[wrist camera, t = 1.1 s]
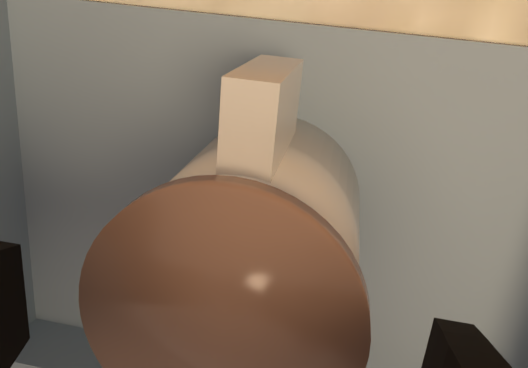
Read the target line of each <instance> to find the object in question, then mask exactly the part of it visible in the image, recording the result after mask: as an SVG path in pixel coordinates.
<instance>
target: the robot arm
mask: <svg viewBox="0 0 528 368" xmlns="http://www.w3.org/2000/svg"><path fill="white" fill-rule="evenodd" d="M29 339H30V333H29V323H28V313H27V303H26V293H25V283H24V273H23V263H22V253H21V244H16V243H10V242H4V241H0V368H11V366H12V365H13V363H14V362H15V360H16V359H17V357H18V356H19V354H20V353H21V351H22V350H23V348H24V347H25V345H26V344H27V342H28V341H29ZM421 368H512V367H511V366H510V364H509V363H508V362H507V361H506V360H505V359H504V358H503V356H502V355H501V354H500V353H499V352H498V351H497V349H496V348H495V347H494V346H493V345H492V344H491V343H490V341H489V340H488V339H487V338H486V337H485V336H484V335H483V334H482V333H481V331H480V330H479V329H478V328H477V327H476V326H475V325H474V324H468V323H463V322H457V321H451V320H446V319H440V318H434V320H433V324H432V328H431V332H430V336H429V339H428V343H427V347H426V351H425V355H424V359H423V363H422V367H421Z"/></svg>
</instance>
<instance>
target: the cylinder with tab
mask: <svg viewBox="0 0 528 368" xmlns="http://www.w3.org/2000/svg"><path fill="white" fill-rule="evenodd" d="M303 62H304V59H297V58H288V57H280V56H271V55H262V54H261V55H259V56H258V57H256V58H254V59H252V60H250V61H249V62H247V63H245V64H243V65H241V66H240V67H238V68H236V69H234V70H232V71H231V72H229V73H227V74H225V75H223V76H222V78H221V95H220V113H219V130H218V136H217V137H216V138H214V139H213V140H212V141H211V142H210V143H209V144H208V145H207V146H206V147H205V148H204V149H203V150H202V151H201V152H200V153H199V154H198V155H197V156H196V157H194V158H193V159H192V160H191V161H190V162H189V163H188V164H187V165H186V166H185V167H184V168H183V169H182V170H181V171H180V172H179V173H178V174H177V175H176V176H174V177H173V178H172V179H171V180H170V181H169V182H167V183H164V184H161V185H159V186H157V187H155V188H153V189H151V190H149V191H147V192H145V193H143V194H142V195H141V196H139V197H138V198H136V199H135V200H133V201H132V202H131V203H130V204H128V205H127V206H126V207H125V208H124V209H123V210H122V211H121V212H119V213H118V214H117V215H116V216H115V217H114V218H113V219H112V220H111V221H110V222H109V223H108V224H107V225H106V226H104V228H103V229H102V230H101V232H100V233H99V234H98V236H97V237H96V238H95V239H94V241H93V243H92V245H91V247H90V249H89V251H88V252H87V254H86V257H85V260H84V263H83V266H82V269H81V275H80V281H79V309H80V317H81V321H82V324H83V328H84V332H85V335H86V337H87V339H88V342H89V344H90V347H91V349H92V351H93V353H94V354H95V356H96V358H97V360H98V362H99V363H100V365H101V366H102V367H103V368H366V365H367V362H368V359H369V353H370V344H371V321H370V300H369V295H368V290H367V285H366V282H365V279H364V276H363V274H362V271H361V268H360V266H359V228H360V194H359V185H358V179H357V176H356V173H355V170H354V167H353V165H352V163H351V161H350V159H349V158H348V156H347V155H346V153H345V152H344V150H343V149H342V148H341V147H340V145H339V144H338V143H337V142H336V141H335V140H334V139H333V138H332V137H330V136H329V135H328V134H327V133H326V132H324V131H323V130H321V129H320V128H318V127H317V126H315V125H313V124H310V123H308V122H306V121H304V120H301V119H298V118H297V113H298V105H299V96H300V88H301V79H302V70H303Z"/></svg>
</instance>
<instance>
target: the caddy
mask: <svg viewBox="0 0 528 368" xmlns="http://www.w3.org/2000/svg"><path fill="white" fill-rule="evenodd" d="M261 54H262V55H271V56H280V57H288V58H297V59H304V62H303V70H302V79H301V88H300V96H299V105H298V113H297V118H298V119H301V120H304V121H306V122H308V123H310V124H313V125H315V126H317V127H318V128H320V129H321V130H323V131H324V132H326V133H327V134H328V135H329V136H330V137H332V138H333V139H334V140H335V141H336V142H337V143H338V144H339V145H340V147H341V148H342V149H343V150H344V152H345V153H346V155H347V156H348V158H349V159H350V161H351V163H352V165H353V167H354V170H355V173H356V176H357V179H358V185H359V194H360V228H359V266H360V268H361V271H362V274H363V276H364V279H365V282H366V285H367V290H368V295H369V300H370V321H371V344H370V353H369V359H368V362H367V365H366V368H421V367H422V363H423V359H424V355H425V351H426V347H427V343H428V339H429V336H430V332H431V328H432V324H433V320H434V318H440V319H446V320H451V321H457V322H463V323H468V324H474V325H475V326H476V327H477V328H478V329H479V330H480V331H481V333H482V334H483V335H484V336H485V337H486V338H487V339H488V340H489V341H490V343H491V344H492V345H493V346H494V347H495V348H496V349H497V351H498V352H499V353H500V354H501V355H502V356H503V358H504V359H505V360H506V361H507V362H508V363H509V364H510V366H511V367H512V368H528V46H520V45H511V44H501V43H491V42H482V41H472V40H463V39H453V38H444V37H434V36H424V35H415V34H405V33H396V32H386V31H377V30H367V29H357V28H348V27H338V26H329V25H319V24H310V23H300V22H290V21H281V20H271V19H262V18H252V17H243V16H233V15H223V14H214V13H204V12H195V11H185V10H176V9H166V8H156V7H147V6H137V5H128V4H118V3H109V2H99V1H89V0H0V241H4V242H10V243H16V244H21V253H22V263H23V273H24V283H25V293H26V303H27V313H28V323H29V333H30V339H29V341H28V342H27V344H26V345H25V347H24V348H23V350H22V351H21V353H20V354H19V356H18V357H17V359H16V360H15V362H14V363H13V365H12V366H11V368H103V367H102V366H101V365H100V363H99V362H98V360H97V358H96V356H95V354H94V353H93V351H92V349H91V347H90V344H89V342H88V339H87V337H86V335H85V332H84V328H83V324H82V321H81V317H80V309H79V281H80V275H81V269H82V266H83V263H84V260H85V257H86V254H87V252H88V251H89V249H90V247H91V245H92V243H93V241H94V239H95V238H96V237H97V236H98V234H99V233H100V232H101V230H102V229H103V228H104V226H106V225H107V224H108V223H109V222H110V221H111V220H112V219H113V218H114V217H115V216H116V215H117V214H118V213H119V212H121V211H122V210H123V209H124V208H125V207H126V206H127V205H128V204H130V203H131V202H132V201H133V200H135V199H136V198H138V197H139V196H141V195H142V194H143V193H145V192H147V191H149V190H151V189H153V188H155V187H157V186H159V185H161V184H164V183H167V182H169V181H170V180H171V179H172V178H173V177H174V176H176V175H177V174H178V173H179V172H180V171H181V170H182V169H183V168H184V167H185V166H186V165H187V164H188V163H189V162H190V161H191V160H192V159H193V158H194V157H196V156H197V155H198V154H199V153H200V152H201V151H202V150H203V149H204V148H205V147H206V146H207V145H208V144H209V143H210V142H211V141H212V140H213V139H214V138H216V137H217V136H218V130H219V113H220V95H221V78H222V76H223V75H225V74H227V73H229V72H231V71H232V70H234V69H236V68H238V67H240V66H241V65H243V64H245V63H247V62H249V61H250V60H252V59H254V58H256V57H258V56H259V55H261Z"/></svg>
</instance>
